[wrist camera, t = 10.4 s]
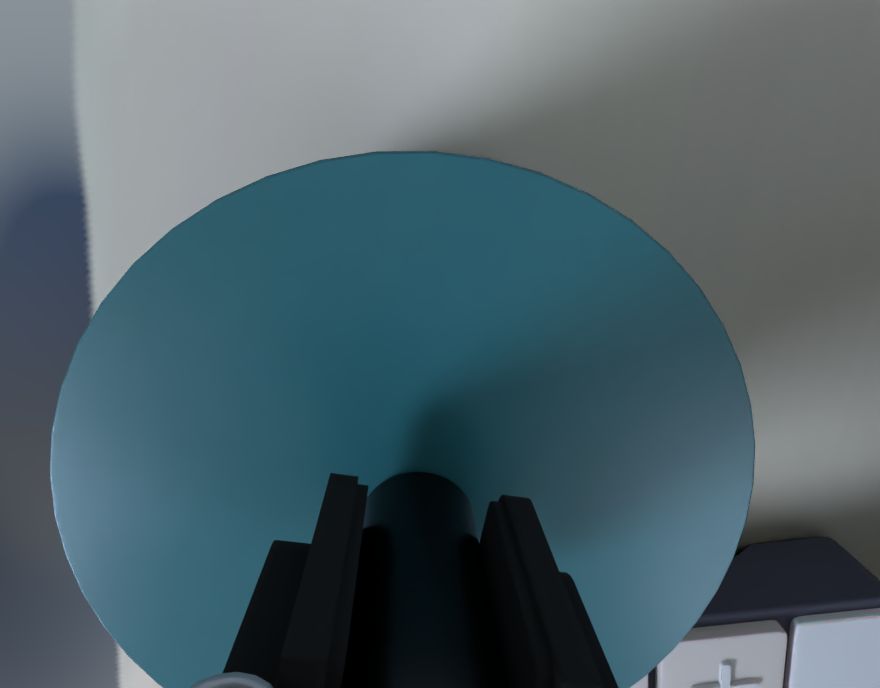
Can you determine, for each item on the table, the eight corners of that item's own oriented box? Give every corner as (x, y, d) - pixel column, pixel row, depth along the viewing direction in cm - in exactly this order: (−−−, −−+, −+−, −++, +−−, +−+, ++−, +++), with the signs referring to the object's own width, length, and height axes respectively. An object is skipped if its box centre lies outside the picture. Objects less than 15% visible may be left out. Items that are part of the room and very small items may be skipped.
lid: (74, 79, 9) (-599, -135, 3) (823, 229, 11) (1369, 287, 5) (87, 700, 13) (-185, 1134, 7) (624, 741, 15) (773, 1124, 9)
